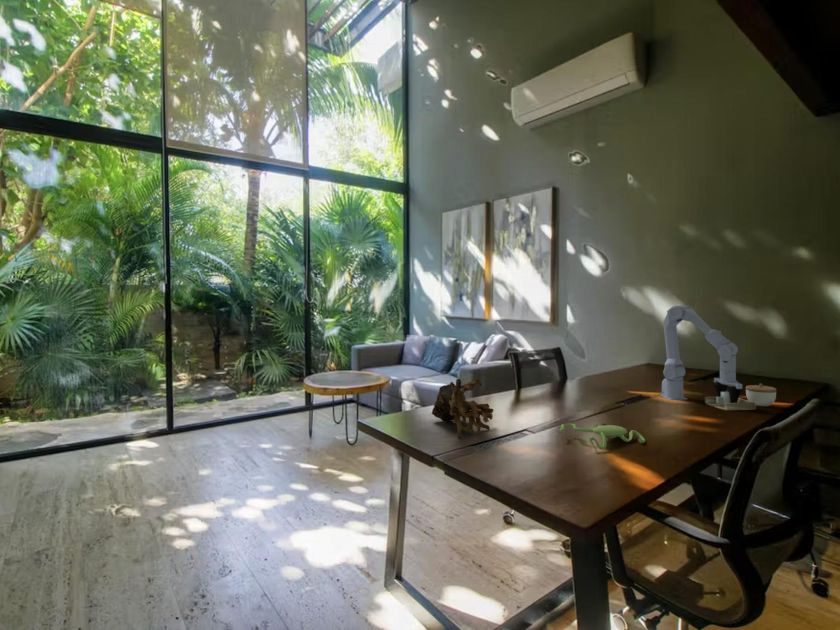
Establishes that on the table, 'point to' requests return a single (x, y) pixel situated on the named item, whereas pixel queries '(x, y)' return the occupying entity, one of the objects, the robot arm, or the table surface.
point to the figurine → (605, 433)
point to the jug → (723, 398)
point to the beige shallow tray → (731, 404)
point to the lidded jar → (761, 394)
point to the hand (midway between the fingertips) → (727, 402)
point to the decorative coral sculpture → (461, 406)
